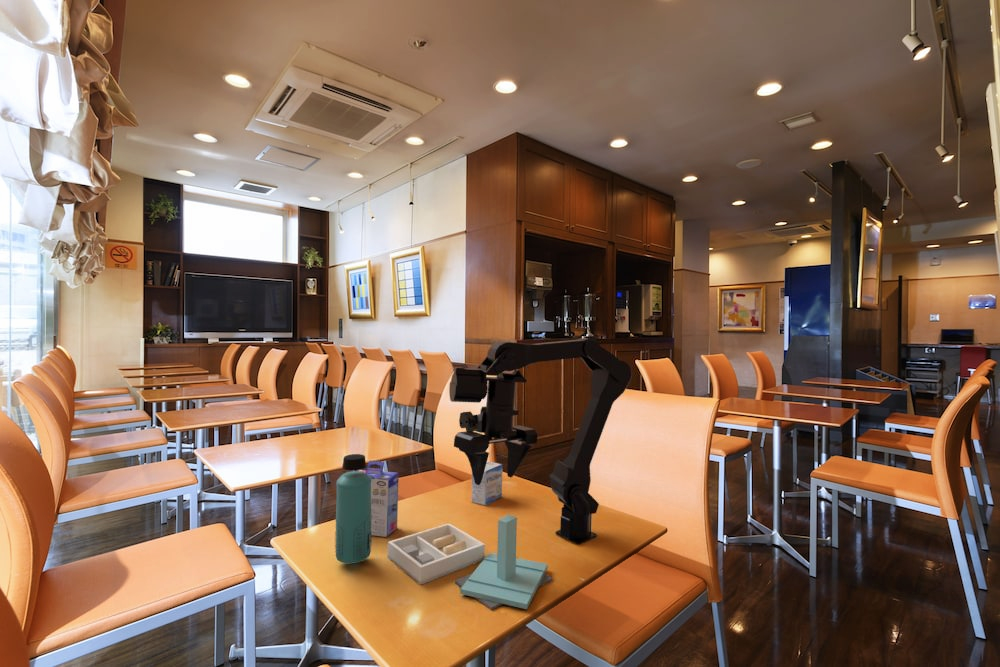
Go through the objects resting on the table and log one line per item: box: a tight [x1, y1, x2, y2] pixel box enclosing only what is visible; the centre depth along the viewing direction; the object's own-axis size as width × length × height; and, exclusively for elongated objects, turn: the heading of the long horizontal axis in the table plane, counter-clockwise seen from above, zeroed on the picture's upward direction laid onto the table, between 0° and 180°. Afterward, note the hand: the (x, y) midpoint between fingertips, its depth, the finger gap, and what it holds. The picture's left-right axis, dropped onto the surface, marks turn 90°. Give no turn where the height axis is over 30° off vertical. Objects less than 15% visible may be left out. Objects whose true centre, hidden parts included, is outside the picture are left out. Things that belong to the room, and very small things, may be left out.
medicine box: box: [470, 461, 504, 507], centre depth 120 cm, size 8×4×9 cm, turn 147°
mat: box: [454, 556, 554, 611], centre depth 81 cm, size 14×10×1 cm
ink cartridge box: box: [357, 460, 399, 538], centre depth 100 cm, size 10×6×14 cm, turn 78°
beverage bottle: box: [334, 453, 373, 564], centre depth 86 cm, size 6×7×20 cm
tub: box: [387, 522, 486, 586], centre depth 88 cm, size 14×12×3 cm
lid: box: [459, 514, 548, 610], centre depth 81 cm, size 13×11×11 cm
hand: (494, 480), depth 94 cm, fingers open, 9 cm apart
